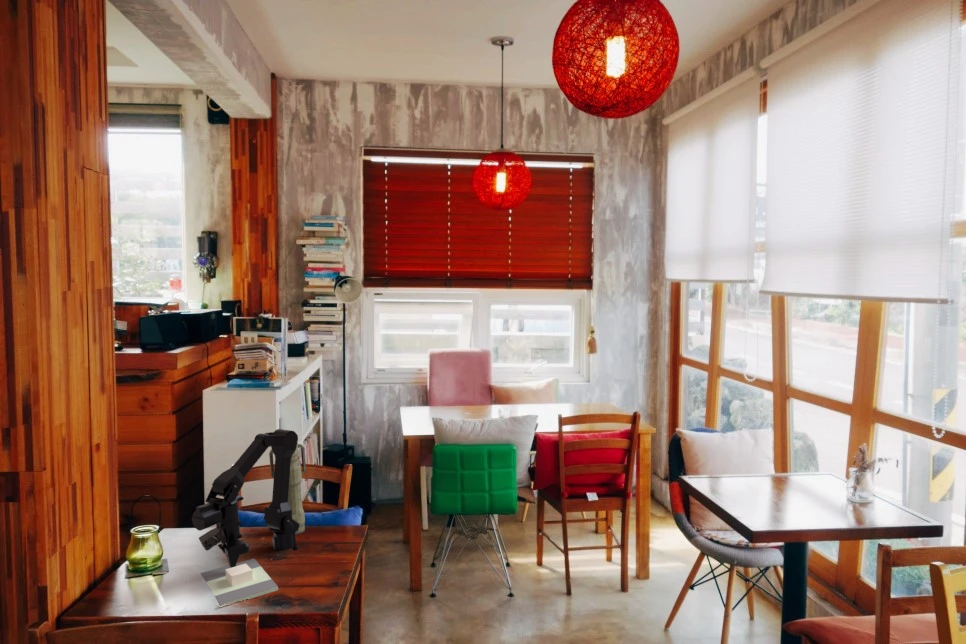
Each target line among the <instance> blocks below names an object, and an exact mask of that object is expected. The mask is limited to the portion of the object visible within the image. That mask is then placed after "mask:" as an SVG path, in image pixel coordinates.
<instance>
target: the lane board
mask: <svg viewBox="0 0 966 644" xmlns="http://www.w3.org/2000/svg"><path fill="white" fill-rule="evenodd" d="M252 573H253V580H251V581H248V582H245V583H242V584H238V585H235V586H232V585H231V584H230V583H229V582H228V581H227V580H226V576H225V577H221V578H218V579H214V580H211V581H207V582H206V581H205V583H206V584H207V585H208V587H209V589H210V590H211V592H212V594H213V595H214V597H215V596H216V595H220V594H223V593H226V592H230V591H233V590H236V589H240V588H243V587H246V586H250V585H253V584H257V583H260V582H263V581H267V580H270V579H272V578H271V577H270V576H269V574H268V573H267V572H266V571H265V570H264V568H263V567H262V566H261V565H260V567H256V568H253V569H252ZM277 591H279V586H278V587H276V588H272V589H269V590H266V591H262V592H259V593H256V594H253V595H249V596H246V597H243V598H240V599H236V600H233V601H230V602H226V603H223V604H220V603H218V604H219V605H220V606H222V605H224V604H228V603H233V602H237V601H241V602H243V601H242V600H244V601H247V600H246V599H248V600H251V599H254V598H257V597H261V596H264V595H266V594H270V593H273V592H277ZM219 605H218V606H219ZM220 606H219V607H220Z"/></svg>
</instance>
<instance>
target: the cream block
mask: <svg viewBox="0 0 966 644" xmlns="http://www.w3.org/2000/svg"><path fill="white" fill-rule="evenodd" d="M225 571H226V580H227V581H228V582H229V583H230V584H231V585H232V586H235V585H238V584H242V583H245V582H248V581H251V580H253V573H252V569H251V568H250V567H249V566H248V565H247V564H246V563H245V564H242V565H239V566H235V567H232V568H229V569H225Z"/></svg>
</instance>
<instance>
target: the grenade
mask: <svg viewBox="0 0 966 644" xmlns="http://www.w3.org/2000/svg"><path fill="white" fill-rule="evenodd" d="M298 442H299V441H298ZM298 442H297V447H296V450H295V452H294V453H293V455H292V457H291V464H290V478H289V491H288V503H289V505H290V508H291V510H292V519H293V520H295V521H296V522H297V523H299V530H298V531H296V532H295V536H296V535H299V534H301V533H304V532H305V531H306V527H305V525H306V524H305V523H306V519H305V517H306V516H305V509H303V498H302V496H303V495H302V482H303V479H302V477H303V475H304V474H306V470H307V466H306V452H305V450H306V449H305V447H304V446H303V445H302V443H298ZM299 449H300V452H301V453H300V455H301V462H300V460H299V459H300V457H299ZM268 456H269V466H270V477H272V478H273V479H274V469H275V463H274V453H273V450H272V448H271V450H270V451H269V454H268Z"/></svg>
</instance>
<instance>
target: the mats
mask: <svg viewBox="0 0 966 644" xmlns="http://www.w3.org/2000/svg"><path fill="white" fill-rule="evenodd" d="M245 563H246V564H247V565H248V566H249V567H250V568H251V569H253V568H256V567H260V566H261V565H260V564H259V562H258V561H257V560H256V559H255V558H250V559H247V560H243V561H240V562H237V563H236V566H239V565H242V564H245ZM229 568H230V565H225V566H222V567H218V568H214V569H211V570H208V571H204V572H201V573H200V574H201V576H202V577H203V580H204V581H205V583H206V582H207V581H211V580H214V579H218V578H221V577H225V576H226V571H225V569H229ZM276 587H278V588H279V586H278V585H277V583H276V582H275V581H274V580H273V579H272V578H271V579H270V580H267V581H263V582H260V583H257V584H253V585H250V586H246V587H243V588H240V589H236V590H233V591H230V592H226V593H223V594H220V595H216V596H215V595H214V597H215V599H216V600H217V602H218V604H223V603H226V602H230V601H233V600H236V599H240V598H243V597H246V596H249V595H253V594H256V593H259V592H262V591H266V590H269V589H272V588H276Z"/></svg>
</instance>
